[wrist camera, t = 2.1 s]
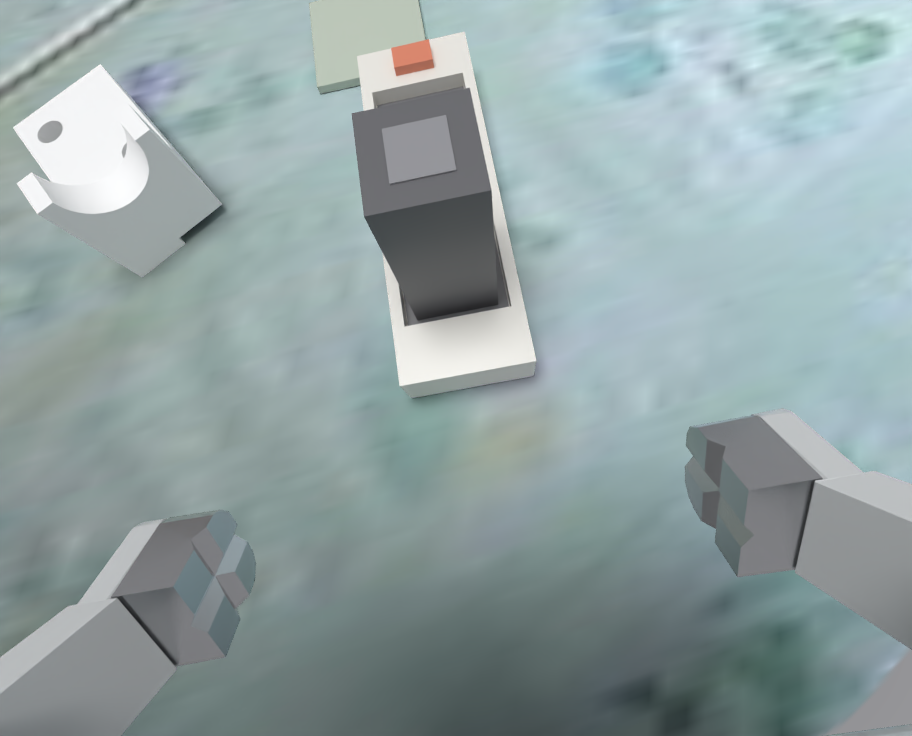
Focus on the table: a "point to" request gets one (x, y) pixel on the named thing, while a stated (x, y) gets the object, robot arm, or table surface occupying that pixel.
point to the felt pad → (358, 35)
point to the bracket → (111, 174)
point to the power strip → (505, 325)
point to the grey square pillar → (430, 201)
